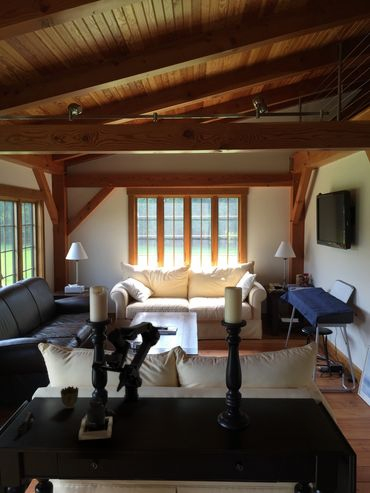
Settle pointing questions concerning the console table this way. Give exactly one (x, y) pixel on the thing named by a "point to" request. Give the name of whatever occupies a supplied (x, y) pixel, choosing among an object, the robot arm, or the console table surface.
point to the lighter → (26, 423)
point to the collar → (95, 434)
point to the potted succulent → (69, 396)
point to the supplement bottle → (96, 415)
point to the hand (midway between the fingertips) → (106, 390)
